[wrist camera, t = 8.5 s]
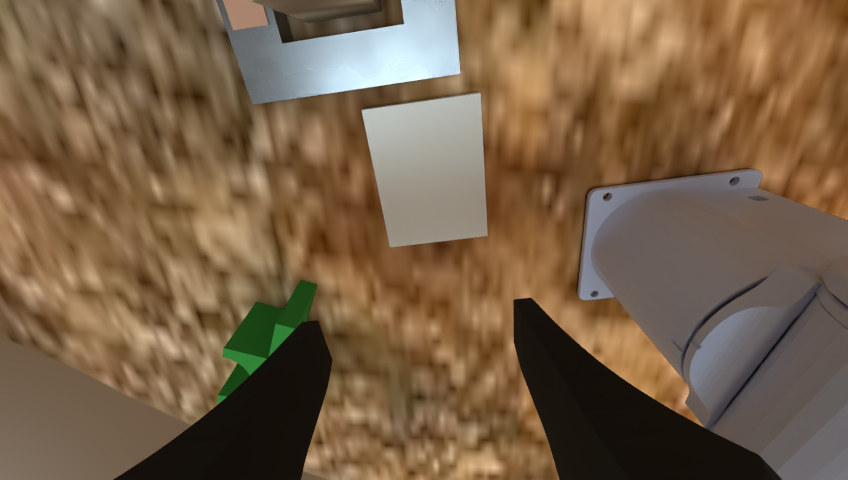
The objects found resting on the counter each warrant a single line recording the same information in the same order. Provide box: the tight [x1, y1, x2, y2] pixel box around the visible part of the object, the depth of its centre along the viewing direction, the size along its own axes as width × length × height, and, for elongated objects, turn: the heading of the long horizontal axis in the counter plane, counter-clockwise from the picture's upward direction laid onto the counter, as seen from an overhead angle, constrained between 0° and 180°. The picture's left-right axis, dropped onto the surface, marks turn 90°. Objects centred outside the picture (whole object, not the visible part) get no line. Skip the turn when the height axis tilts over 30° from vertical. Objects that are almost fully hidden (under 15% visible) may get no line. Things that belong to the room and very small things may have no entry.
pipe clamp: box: [217, 280, 317, 403], centre depth 23 cm, size 11×4×5 cm, turn 160°
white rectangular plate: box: [362, 92, 488, 247], centre depth 19 cm, size 6×8×1 cm
